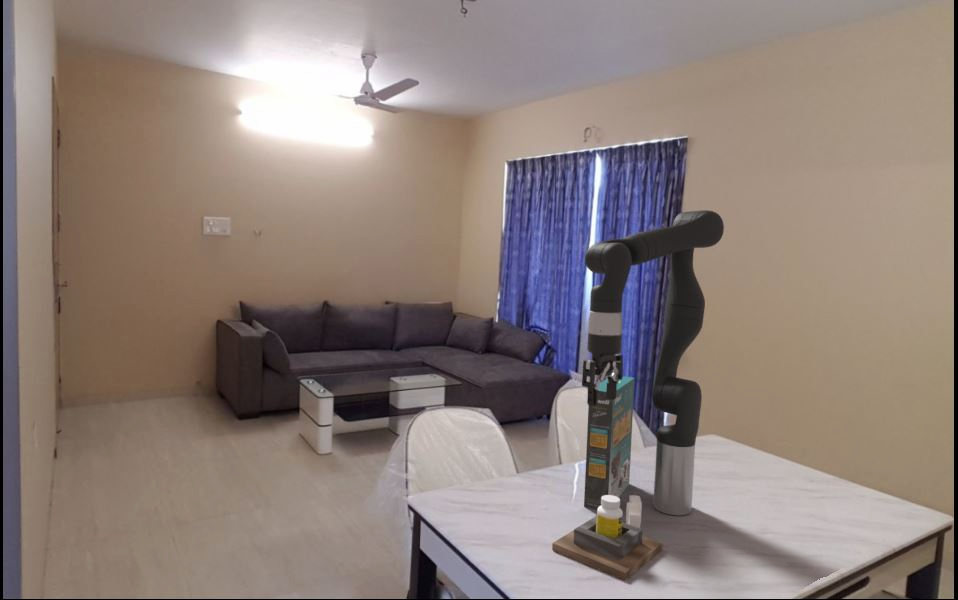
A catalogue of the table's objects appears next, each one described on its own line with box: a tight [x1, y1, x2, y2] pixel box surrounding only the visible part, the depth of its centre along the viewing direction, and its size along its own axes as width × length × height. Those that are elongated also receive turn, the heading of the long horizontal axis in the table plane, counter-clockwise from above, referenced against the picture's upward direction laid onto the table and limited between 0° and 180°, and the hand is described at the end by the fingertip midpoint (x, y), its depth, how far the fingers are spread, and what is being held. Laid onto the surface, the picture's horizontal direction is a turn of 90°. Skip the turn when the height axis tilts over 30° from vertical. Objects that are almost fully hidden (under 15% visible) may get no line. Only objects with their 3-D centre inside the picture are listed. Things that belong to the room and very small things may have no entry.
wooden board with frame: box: [551, 515, 664, 581], centre depth 127 cm, size 17×17×4 cm
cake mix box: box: [583, 376, 635, 511], centre depth 156 cm, size 22×6×30 cm, turn 152°
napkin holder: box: [625, 494, 643, 529], centre depth 139 cm, size 15×11×6 cm
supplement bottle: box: [596, 495, 623, 540], centre depth 126 cm, size 5×5×10 cm
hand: (601, 402), depth 134 cm, fingers open, 8 cm apart
